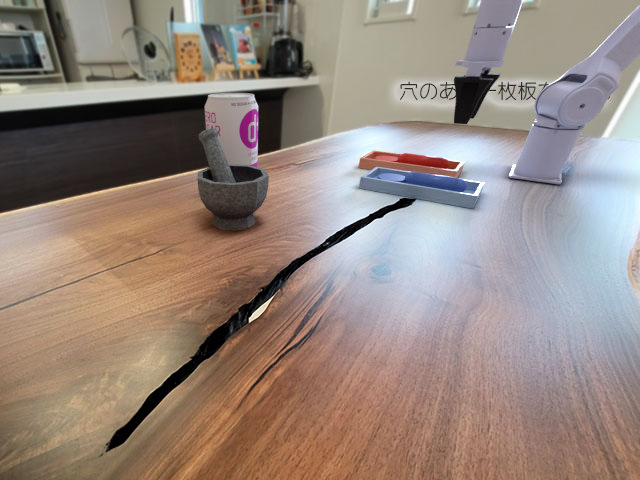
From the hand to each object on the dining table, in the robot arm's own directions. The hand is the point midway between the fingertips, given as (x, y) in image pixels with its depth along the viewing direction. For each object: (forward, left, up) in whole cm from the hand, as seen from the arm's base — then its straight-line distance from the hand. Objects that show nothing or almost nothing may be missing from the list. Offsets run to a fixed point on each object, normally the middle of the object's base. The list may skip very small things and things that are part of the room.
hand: (464, 120), depth 66 cm
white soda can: (+34, -28, -10) cm, 45 cm away
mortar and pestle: (+44, -21, -10) cm, 50 cm away
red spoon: (+2, -7, -9) cm, 11 cm away
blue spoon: (+15, -2, -9) cm, 18 cm away
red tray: (+2, -7, -9) cm, 12 cm away
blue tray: (+15, -2, -9) cm, 18 cm away
